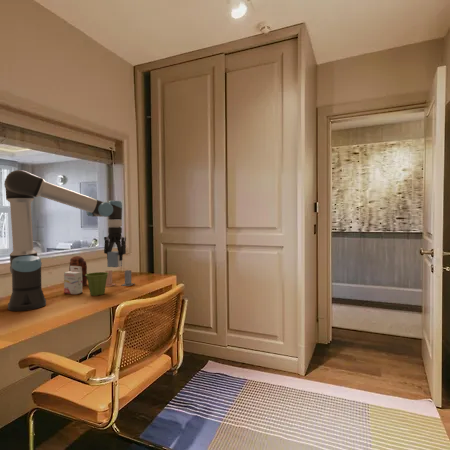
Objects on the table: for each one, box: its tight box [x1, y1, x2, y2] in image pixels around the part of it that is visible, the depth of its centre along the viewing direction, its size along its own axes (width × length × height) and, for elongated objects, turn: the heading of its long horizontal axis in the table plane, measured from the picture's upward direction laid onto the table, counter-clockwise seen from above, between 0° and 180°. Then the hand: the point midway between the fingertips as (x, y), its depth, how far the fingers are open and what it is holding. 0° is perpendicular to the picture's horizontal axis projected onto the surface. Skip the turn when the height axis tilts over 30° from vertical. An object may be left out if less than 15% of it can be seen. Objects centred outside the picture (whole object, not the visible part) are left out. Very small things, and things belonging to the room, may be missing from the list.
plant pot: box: [85, 271, 109, 297], centre depth 169 cm, size 12×12×11 cm
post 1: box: [105, 270, 117, 287], centre depth 191 cm, size 6×6×9 cm
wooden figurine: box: [68, 255, 88, 287], centre depth 191 cm, size 12×6×18 cm, turn 86°
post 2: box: [121, 269, 136, 287], centre depth 192 cm, size 6×6×9 cm
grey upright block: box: [106, 250, 123, 268], centre depth 183 cm, size 6×6×9 cm
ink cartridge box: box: [63, 265, 83, 295], centre depth 172 cm, size 9×5×15 cm, turn 74°
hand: (114, 265), depth 183 cm, fingers closed on grey upright block, 6 cm apart
